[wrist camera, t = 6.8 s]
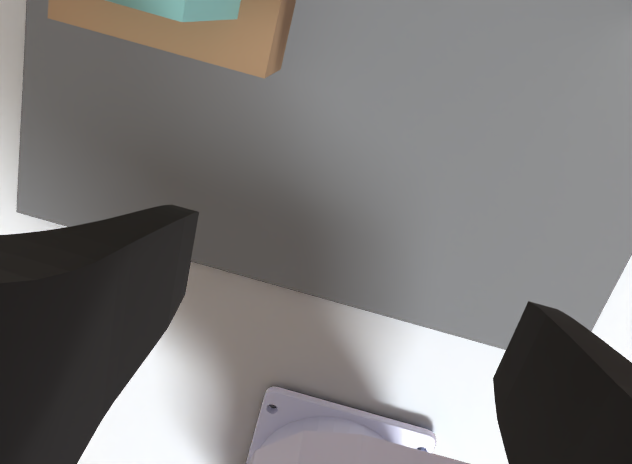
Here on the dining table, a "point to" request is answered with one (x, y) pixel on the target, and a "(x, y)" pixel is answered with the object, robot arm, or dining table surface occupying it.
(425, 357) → the dining table surface
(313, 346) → the dining table surface
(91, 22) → the walnut base
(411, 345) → the dining table surface
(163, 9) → the teal block
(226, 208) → the mat
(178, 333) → the dining table surface
